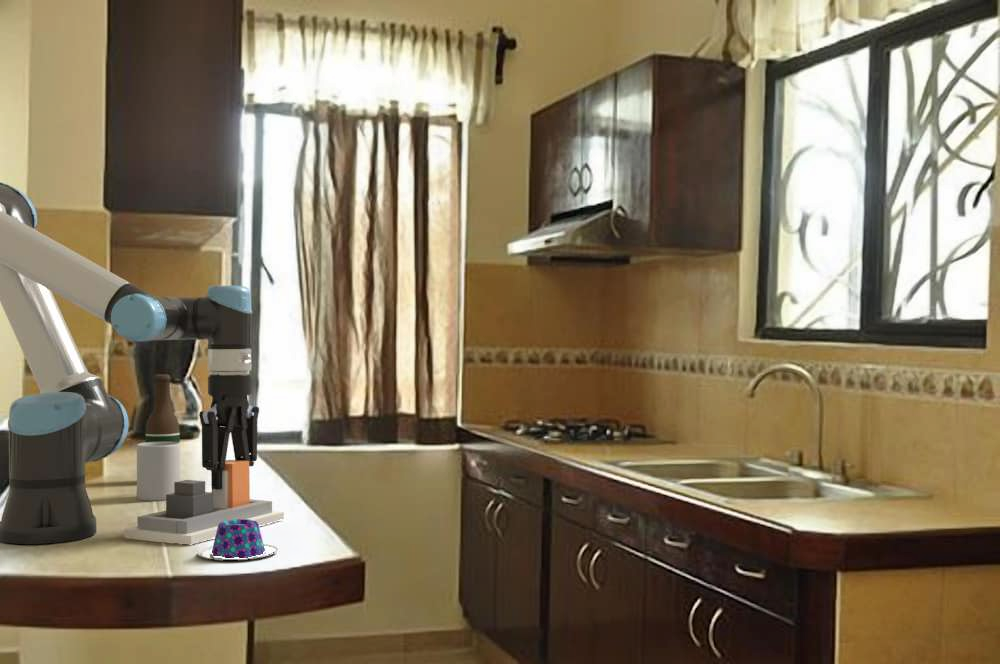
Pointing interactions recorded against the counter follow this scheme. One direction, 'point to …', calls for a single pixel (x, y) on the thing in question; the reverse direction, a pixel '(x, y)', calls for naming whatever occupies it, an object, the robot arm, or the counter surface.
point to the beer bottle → (162, 414)
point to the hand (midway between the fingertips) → (230, 505)
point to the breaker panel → (192, 535)
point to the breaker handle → (189, 500)
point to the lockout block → (237, 483)
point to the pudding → (237, 540)
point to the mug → (157, 469)
